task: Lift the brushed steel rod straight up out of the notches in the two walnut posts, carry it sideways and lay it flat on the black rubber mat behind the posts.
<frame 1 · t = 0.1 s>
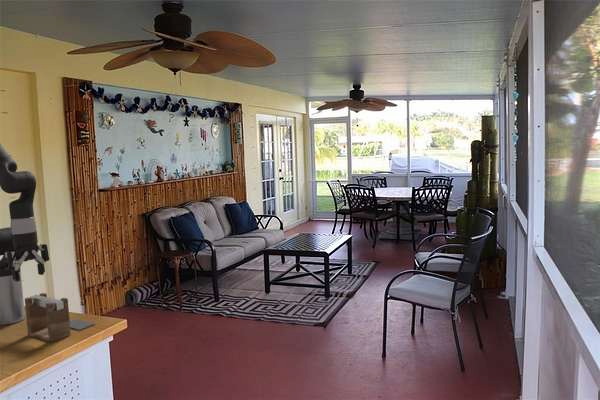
hand: (29, 277, 171), 17 cm above the counter, tool pointing down, fingers open, 8 cm apart
cradle: (49, 335, 166), on the counter
mat: (77, 325, 174), on the counter
steel rod: (46, 305, 164), point 10 cm above the counter, touching cradle
decorative butterfly: (47, 322, 179), on the counter
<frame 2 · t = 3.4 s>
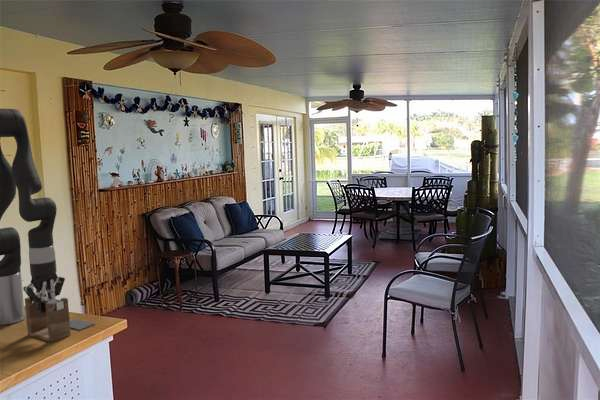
hand: (47, 310, 164), 8 cm above the counter, tool pointing down, fingers closed on steel rod, 2 cm apart
steel rod: (46, 305, 164), point 10 cm above the counter, touching cradle, gripper
decorative butterfly: (47, 323, 177), on the counter
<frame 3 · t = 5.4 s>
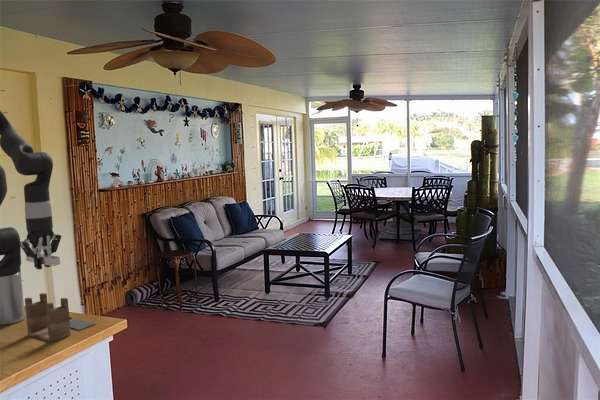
hand: (43, 267, 162), 23 cm above the counter, tool pointing down, fingers closed on steel rod, 2 cm apart
steel rod: (43, 262, 162), point 25 cm above the counter, touching gripper
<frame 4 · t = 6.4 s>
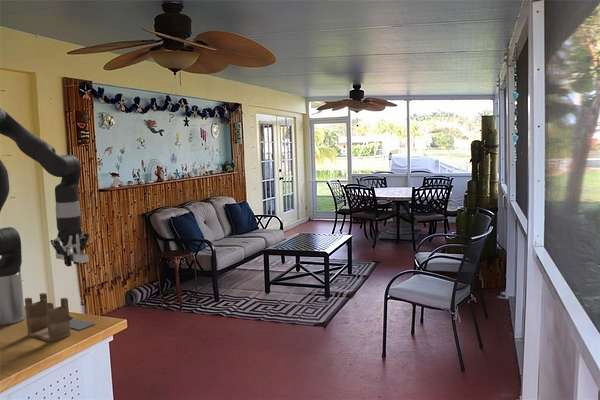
hand: (72, 264, 171), 21 cm above the counter, tool pointing down, fingers closed on steel rod, 2 cm apart
steel rod: (72, 259, 170), point 23 cm above the counter, touching gripper
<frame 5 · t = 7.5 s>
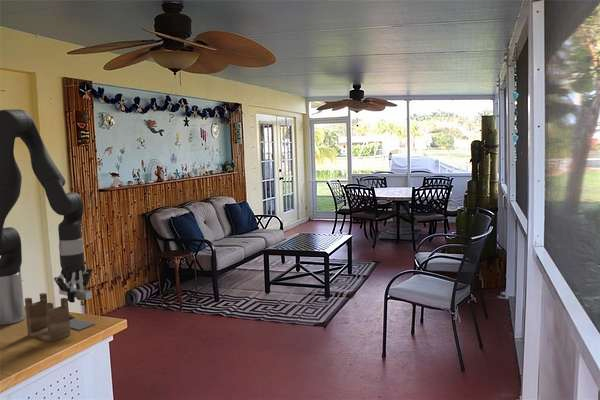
hand: (75, 300, 172), 9 cm above the counter, tool pointing down, fingers closed on steel rod, 2 cm apart
steel rod: (75, 295, 172), point 11 cm above the counter, touching gripper
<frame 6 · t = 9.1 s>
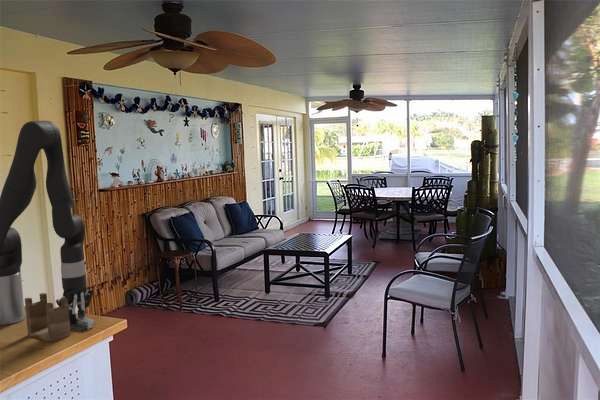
hand: (77, 322, 174), 1 cm above the counter, tool pointing down, fingers closed on steel rod, 2 cm apart
steel rod: (77, 322, 174), point 1 cm above the counter, tilted 5°, touching decorative butterfly, gripper, mat
decorative butterfly: (53, 323, 178), on the counter, touching steel rod
when the fingers open (1 cm above the counter, at t = 9.4 s): steel rod stays where it is, resting on mat.
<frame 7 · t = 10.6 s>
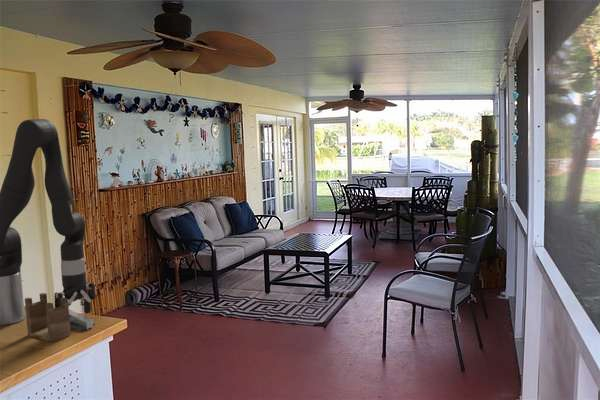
hand: (76, 316, 173), 3 cm above the counter, tool pointing down, fingers open, 8 cm apart
steel rod: (77, 322, 174), point 1 cm above the counter, tilted 6°, touching mat
decorative butterfly: (54, 323, 178), on the counter
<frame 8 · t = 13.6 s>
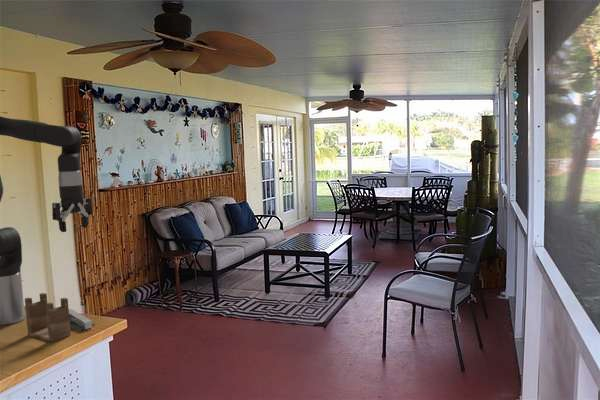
hand: (74, 229, 177), 32 cm above the counter, tool pointing down, fingers open, 8 cm apart
steel rod: (77, 322, 174), point 1 cm above the counter, tilted 6°, touching decorative butterfly, mat
decorative butterfly: (54, 323, 178), on the counter, touching steel rod
at the end: steel rod 0.5 cm off-centre on the mat, point 0.9 cm above the mat's base; steel rod touching mat; the gripper is holding nothing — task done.
